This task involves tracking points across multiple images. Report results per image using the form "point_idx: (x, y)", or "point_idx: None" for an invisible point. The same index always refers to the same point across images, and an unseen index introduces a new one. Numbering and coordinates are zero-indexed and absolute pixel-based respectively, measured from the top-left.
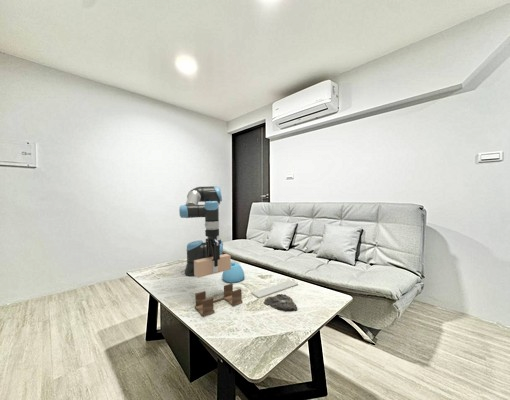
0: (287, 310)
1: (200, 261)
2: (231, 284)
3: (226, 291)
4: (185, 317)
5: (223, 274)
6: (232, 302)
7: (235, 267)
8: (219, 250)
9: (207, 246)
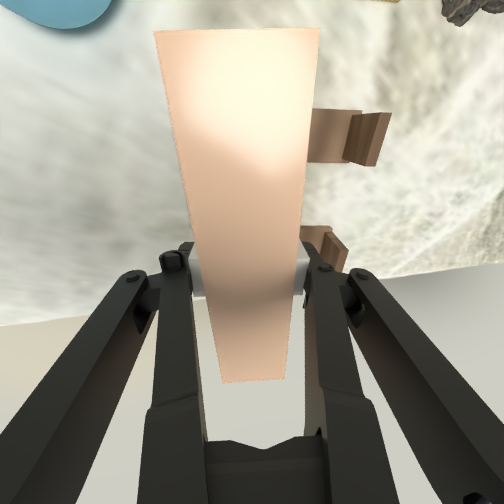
0: None
1: (277, 366)
2: None
3: None
4: None
5: (26, 8)
6: (344, 159)
7: None
8: (441, 355)
9: (107, 423)
